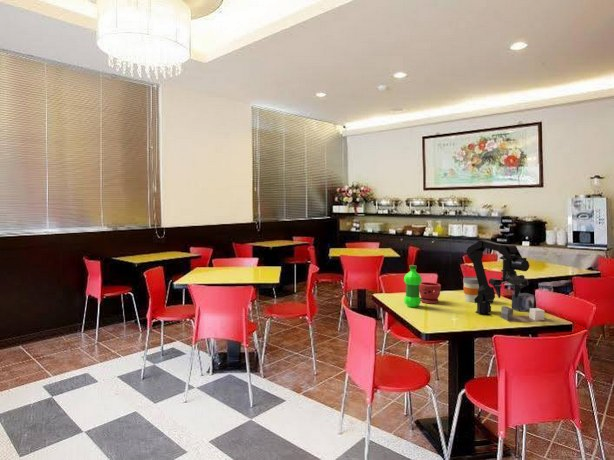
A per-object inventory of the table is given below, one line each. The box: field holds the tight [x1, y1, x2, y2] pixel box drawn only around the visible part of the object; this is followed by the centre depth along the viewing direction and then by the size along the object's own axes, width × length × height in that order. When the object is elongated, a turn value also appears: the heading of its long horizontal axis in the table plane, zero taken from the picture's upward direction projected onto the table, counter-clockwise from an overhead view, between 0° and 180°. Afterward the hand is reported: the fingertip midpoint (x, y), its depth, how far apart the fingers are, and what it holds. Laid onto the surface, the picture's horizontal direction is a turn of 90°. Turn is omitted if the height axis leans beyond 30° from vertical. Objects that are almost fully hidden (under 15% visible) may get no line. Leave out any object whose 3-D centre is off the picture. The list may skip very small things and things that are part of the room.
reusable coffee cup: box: [462, 276, 479, 304], centre depth 262 cm, size 13×13×15 cm
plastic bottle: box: [403, 264, 423, 308], centre depth 247 cm, size 10×10×25 cm
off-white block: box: [528, 307, 545, 320], centre depth 217 cm, size 5×5×5 cm
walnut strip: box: [498, 306, 556, 323], centre depth 216 cm, size 24×12×7 cm, turn 94°
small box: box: [510, 292, 535, 312], centre depth 236 cm, size 11×6×10 cm, turn 105°
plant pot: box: [419, 281, 442, 304], centre depth 259 cm, size 13×13×12 cm
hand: (507, 297), depth 215 cm, fingers open, 9 cm apart
